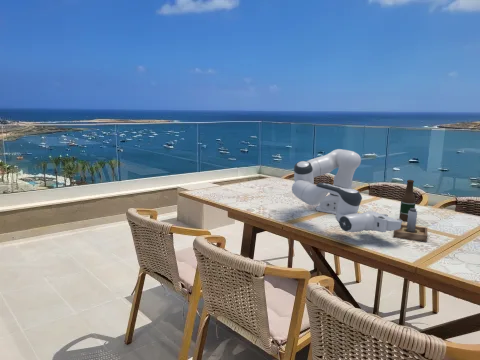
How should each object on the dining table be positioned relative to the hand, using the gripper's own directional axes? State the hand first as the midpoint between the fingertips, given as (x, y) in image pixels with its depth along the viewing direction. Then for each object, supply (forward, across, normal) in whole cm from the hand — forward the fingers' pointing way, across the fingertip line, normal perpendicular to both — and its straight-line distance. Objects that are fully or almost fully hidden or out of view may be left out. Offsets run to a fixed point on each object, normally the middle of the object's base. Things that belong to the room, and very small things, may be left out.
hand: (393, 218), depth 179 cm
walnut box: (+12, 0, -10) cm, 15 cm away
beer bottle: (+32, -22, -10) cm, 40 cm away
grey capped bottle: (+12, 0, -9) cm, 15 cm away
